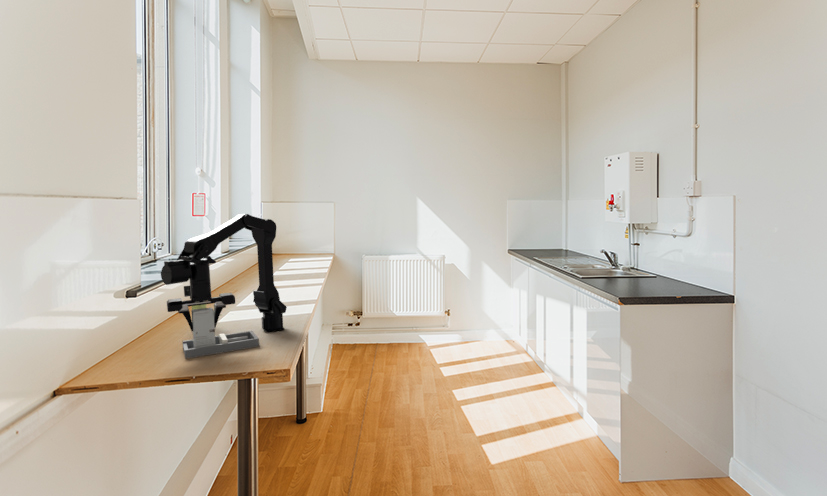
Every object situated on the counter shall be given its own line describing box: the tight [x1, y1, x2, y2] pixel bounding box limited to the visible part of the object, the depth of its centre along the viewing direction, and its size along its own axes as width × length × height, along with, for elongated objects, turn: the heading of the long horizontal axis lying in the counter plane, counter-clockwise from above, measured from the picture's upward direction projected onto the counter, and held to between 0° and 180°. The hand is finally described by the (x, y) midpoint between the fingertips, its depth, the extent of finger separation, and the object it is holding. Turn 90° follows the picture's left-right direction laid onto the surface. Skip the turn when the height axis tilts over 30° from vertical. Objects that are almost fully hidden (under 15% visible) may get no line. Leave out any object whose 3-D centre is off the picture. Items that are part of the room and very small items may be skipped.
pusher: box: [218, 332, 248, 344], centre depth 144 cm, size 8×8×3 cm
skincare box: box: [190, 307, 216, 348], centre depth 139 cm, size 6×4×12 cm
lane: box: [182, 330, 260, 359], centre depth 142 cm, size 21×11×2 cm, turn 120°
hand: (203, 329), depth 139 cm, fingers closed on skincare box, 6 cm apart
